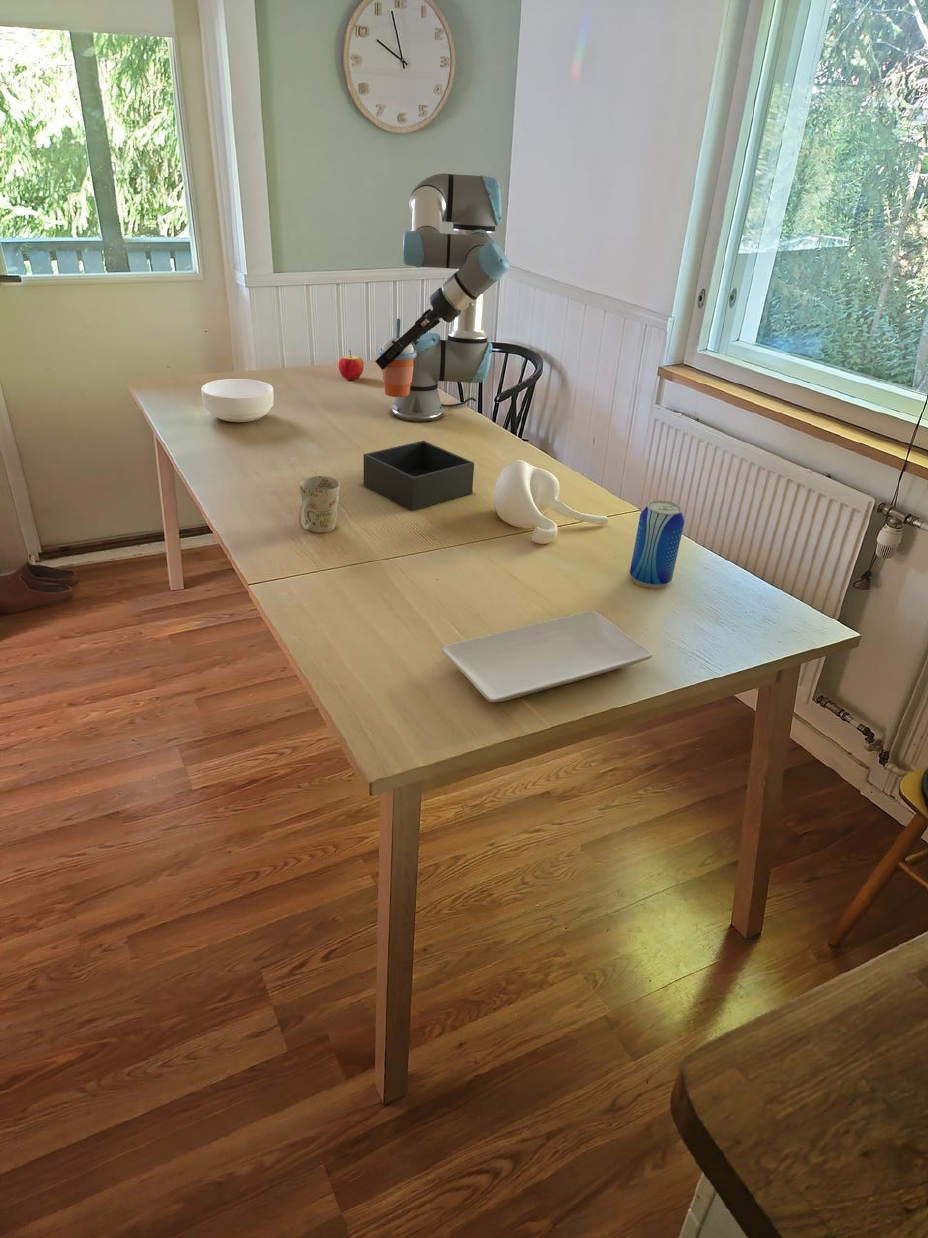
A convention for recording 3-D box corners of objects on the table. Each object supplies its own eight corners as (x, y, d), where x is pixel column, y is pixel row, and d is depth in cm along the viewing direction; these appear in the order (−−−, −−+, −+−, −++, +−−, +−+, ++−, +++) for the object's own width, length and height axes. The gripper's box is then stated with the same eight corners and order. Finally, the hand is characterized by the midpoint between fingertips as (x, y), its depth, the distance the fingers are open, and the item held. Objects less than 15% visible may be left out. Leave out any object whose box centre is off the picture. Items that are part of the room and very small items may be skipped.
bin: (422, 470, 213) (423, 440, 209) (472, 493, 202) (474, 462, 198) (363, 485, 202) (363, 454, 198) (412, 510, 190) (413, 478, 186)
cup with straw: (417, 390, 213) (420, 316, 204) (412, 400, 205) (414, 324, 196) (382, 387, 214) (383, 313, 205) (375, 397, 206) (376, 320, 197)
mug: (347, 523, 182) (346, 480, 177) (320, 546, 172) (318, 500, 167) (312, 516, 184) (311, 473, 179) (284, 538, 174) (281, 493, 169)
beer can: (662, 595, 163) (678, 519, 155) (622, 582, 166) (635, 507, 158) (676, 579, 169) (692, 505, 161) (637, 567, 173) (651, 494, 165)
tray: (437, 662, 138) (438, 644, 136) (591, 624, 152) (594, 607, 150) (489, 720, 125) (491, 701, 123) (652, 672, 139) (656, 655, 137)
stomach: (515, 564, 180) (606, 559, 191) (535, 516, 171) (629, 513, 182) (475, 497, 194) (562, 495, 204) (492, 449, 185) (582, 450, 196)
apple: (335, 380, 279) (335, 350, 274) (342, 374, 286) (342, 344, 281) (359, 383, 278) (359, 352, 273) (366, 377, 285) (366, 347, 280)
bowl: (289, 417, 243) (288, 388, 238) (239, 433, 228) (237, 402, 224) (240, 403, 251) (238, 374, 247) (188, 417, 237) (185, 387, 232)
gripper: (451, 320, 187) (382, 383, 198) (471, 304, 206) (407, 363, 216) (429, 293, 185) (360, 358, 196) (451, 279, 204) (388, 339, 214)
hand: (385, 360), depth 206 cm, fingers closed on cup with straw, 9 cm apart
